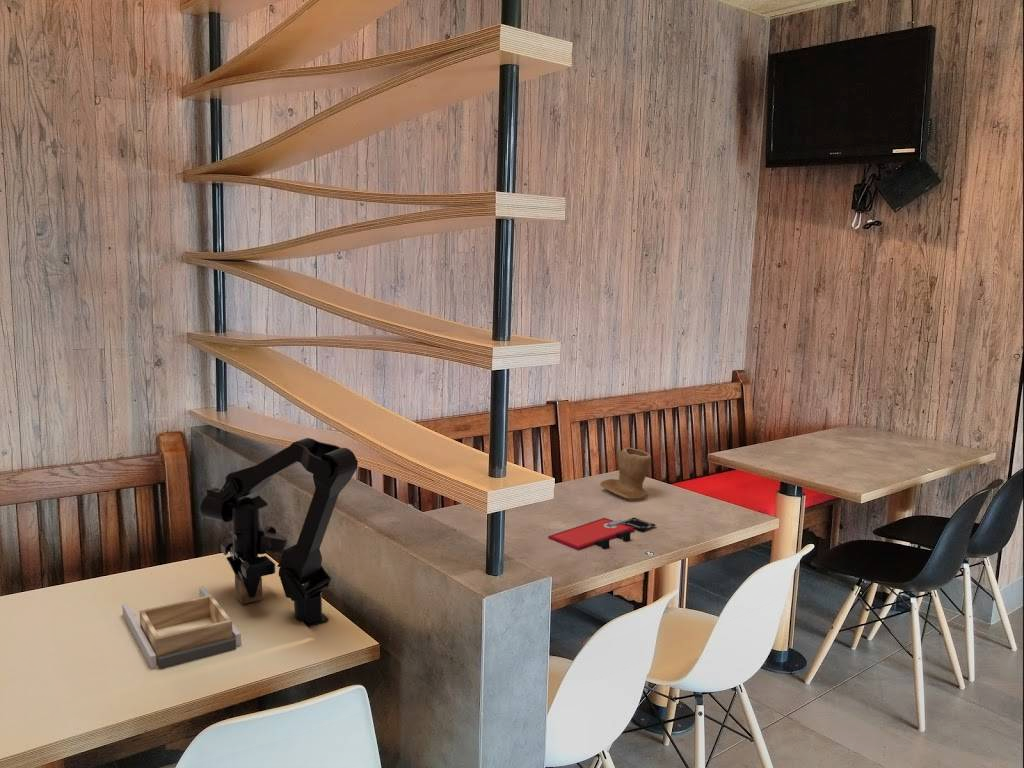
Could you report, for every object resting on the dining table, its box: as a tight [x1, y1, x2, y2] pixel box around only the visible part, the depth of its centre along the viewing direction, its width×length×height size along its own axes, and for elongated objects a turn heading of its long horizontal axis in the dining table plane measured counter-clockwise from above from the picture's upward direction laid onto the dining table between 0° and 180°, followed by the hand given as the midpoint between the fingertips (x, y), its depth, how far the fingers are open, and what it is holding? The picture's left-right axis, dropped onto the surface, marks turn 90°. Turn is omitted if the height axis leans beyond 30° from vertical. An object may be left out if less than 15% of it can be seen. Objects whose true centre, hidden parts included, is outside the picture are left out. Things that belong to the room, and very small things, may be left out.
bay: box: [121, 586, 242, 670], centre depth 169 cm, size 28×18×3 cm, turn 35°
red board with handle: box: [547, 517, 656, 551], centre depth 230 cm, size 30×3×15 cm
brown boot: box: [599, 447, 652, 500], centre depth 264 cm, size 15×12×15 cm
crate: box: [139, 594, 233, 665], centre depth 165 cm, size 14×14×5 cm
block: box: [234, 574, 263, 605], centre depth 183 cm, size 4×4×5 cm
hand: (248, 593), depth 183 cm, fingers closed on block, 4 cm apart
